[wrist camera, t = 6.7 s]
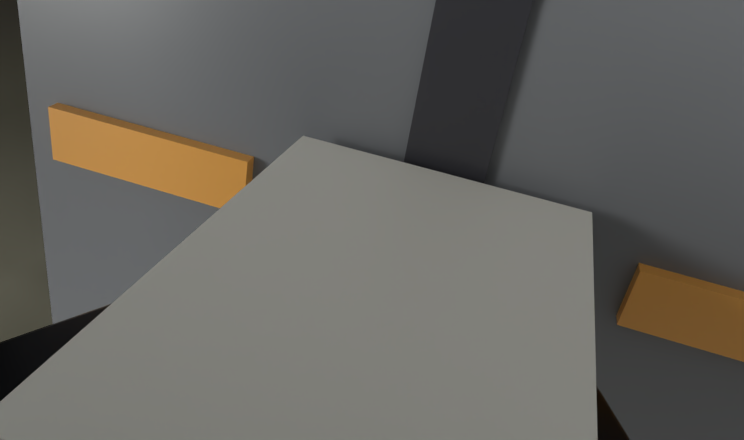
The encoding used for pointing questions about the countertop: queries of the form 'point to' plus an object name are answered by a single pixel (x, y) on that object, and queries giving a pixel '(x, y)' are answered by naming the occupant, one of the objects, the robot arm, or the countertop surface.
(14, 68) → the countertop surface
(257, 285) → the fader cap
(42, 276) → the countertop surface
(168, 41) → the slider track base
